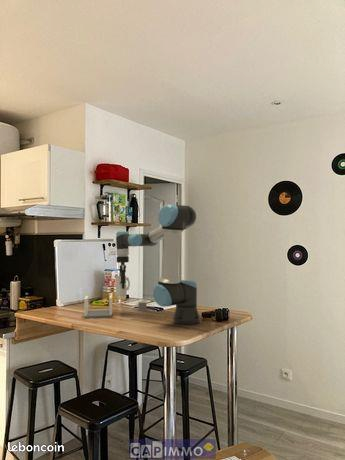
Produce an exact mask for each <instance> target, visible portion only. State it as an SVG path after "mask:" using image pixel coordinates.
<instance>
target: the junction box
mask: <svg viewBox="0 0 345 460" xmlns="http://www.w3.org/2000/svg"><path fill="white" fill-rule="evenodd" d="M137 308H138V311H141V312H143V311H147V301H146V300H145V301H142V300H141V301H138V304H137Z"/></svg>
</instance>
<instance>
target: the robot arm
mask: <svg viewBox="0 0 345 460" xmlns="http://www.w3.org/2000/svg"><path fill="white" fill-rule="evenodd" d="M157 220H158V223H159V224H160V226H159V227H157V228H155V229H153V230H151V231H150V232H148V233H129V232H128V231H127V230H125V231H124V230H121V231H117V232H116V236H115V239H116V240H115V245H116V246H115V247H116V250H115V253H116V263H120V265H119V273H120V276H121V282H120V283H121V294H125V276H126V268H127V265H126V263H129V262H130V261H129V260H130V257H129V255H130V254H129V253H130V252H129V249H130V247H133V248H134V247H155V246H157V245H158V243H159V242H160V241H162V240H163V249H162V265H161V277H160V278H159V279H158V282H157V285H155V286H154V288H153V290H152V297H153V300H154V301H155V302H156V303H155V304H156V305H158V306H159V307H162V308H163V307H164V308H165V307H170V306H171V307H172V306H175V309H174V314H173V317H172V322H173V323H175V324H178V325H196V324H199V323H201V317H200V313H199V310H198V308H197V307H198V306H197V305H198V303H197V302H198V297H197V296H198V294H197V292H198V291H197V290H198V287H197V282H196V281H194V280H185V279H178V277H179V276H178V273H179V260H180V246H181V234H182V233H183V232H184V231H185V230H187V229H189V228H190V227H192V226H193V225H194V224H195V223H196V220H197V213H196V211H195V209H194V208H193V207H191V206H190V205H183V204H175V203H174V204H173V203H171V204H165V205H162V207H161V208H159V211H158V215H157Z"/></svg>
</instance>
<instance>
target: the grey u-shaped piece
mask: <svg viewBox="0 0 345 460" xmlns="http://www.w3.org/2000/svg"><path fill="white" fill-rule="evenodd" d="M83 302H84V305H83V307H84V309H83V311H84V313H83V319H85V320H86V319H87V320H88V319H90V318H92V319H112V318H113V294H110V295H109V299H108V302H109V304H108V305H109V306H108V307H109V308H104V309H101V308H100V309H89V303H90V302H89V295H85V296H84V298H83ZM90 320H91V319H90Z"/></svg>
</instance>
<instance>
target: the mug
mask: <svg viewBox="0 0 345 460" xmlns="http://www.w3.org/2000/svg"><path fill="white" fill-rule="evenodd" d="M114 277H115V278H114V279H115V296H116V297H126V296H127V291H129V289H130V284H131V281H130V279H129V277H127V276H126V275H125V294H121V283H120V282H121V275H116V276H114Z"/></svg>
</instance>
